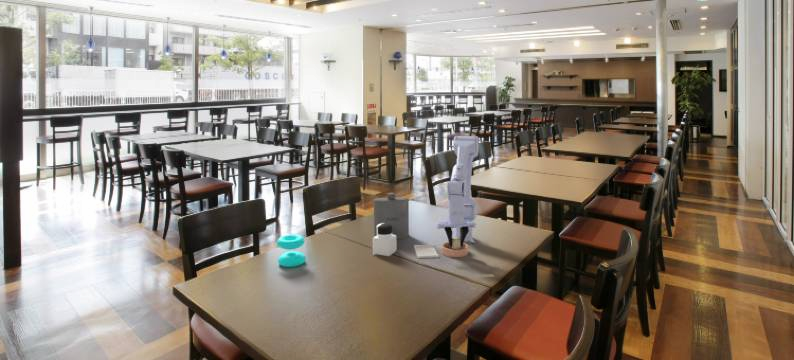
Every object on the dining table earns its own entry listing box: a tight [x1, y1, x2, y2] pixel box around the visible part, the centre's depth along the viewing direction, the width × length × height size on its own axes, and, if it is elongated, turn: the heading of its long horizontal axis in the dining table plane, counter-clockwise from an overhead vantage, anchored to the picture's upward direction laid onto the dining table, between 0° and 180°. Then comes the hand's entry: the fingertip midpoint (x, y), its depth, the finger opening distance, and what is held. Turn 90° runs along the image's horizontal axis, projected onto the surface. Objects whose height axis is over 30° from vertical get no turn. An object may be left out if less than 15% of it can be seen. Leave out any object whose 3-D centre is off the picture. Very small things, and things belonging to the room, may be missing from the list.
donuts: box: [276, 233, 307, 268], centre depth 171 cm, size 10×10×10 cm
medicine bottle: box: [372, 223, 397, 257], centre depth 180 cm, size 7×7×12 cm
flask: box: [373, 192, 410, 240], centre depth 197 cm, size 15×6×20 cm, turn 99°
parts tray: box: [413, 244, 440, 259], centre depth 180 cm, size 12×8×2 cm, turn 5°
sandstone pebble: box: [451, 236, 461, 250], centre depth 176 cm, size 4×4×4 cm
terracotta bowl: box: [440, 241, 469, 258], centre depth 179 cm, size 10×10×4 cm
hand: (455, 245), depth 177 cm, fingers closed on sandstone pebble, 4 cm apart
